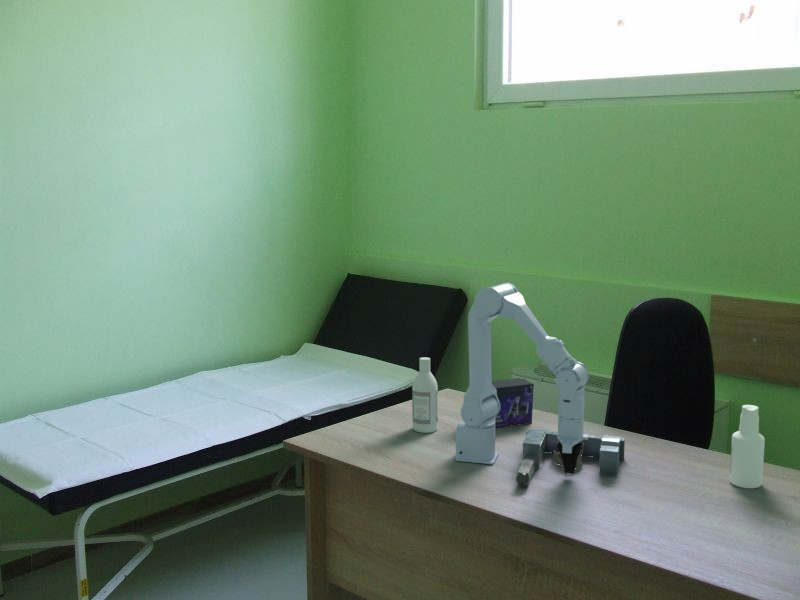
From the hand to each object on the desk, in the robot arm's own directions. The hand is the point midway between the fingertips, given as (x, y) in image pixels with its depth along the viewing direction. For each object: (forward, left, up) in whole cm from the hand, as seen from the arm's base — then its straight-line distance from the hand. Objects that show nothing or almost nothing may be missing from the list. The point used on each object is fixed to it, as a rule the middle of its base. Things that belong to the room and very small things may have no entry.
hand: (569, 472), depth 191 cm
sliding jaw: (-9, +2, -1) cm, 10 cm away
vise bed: (0, +10, -1) cm, 11 cm away
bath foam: (-42, +24, -2) cm, 48 cm away
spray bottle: (+38, +8, -2) cm, 39 cm away
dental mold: (-1, +10, -2) cm, 10 cm away
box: (-23, +34, -2) cm, 41 cm away
